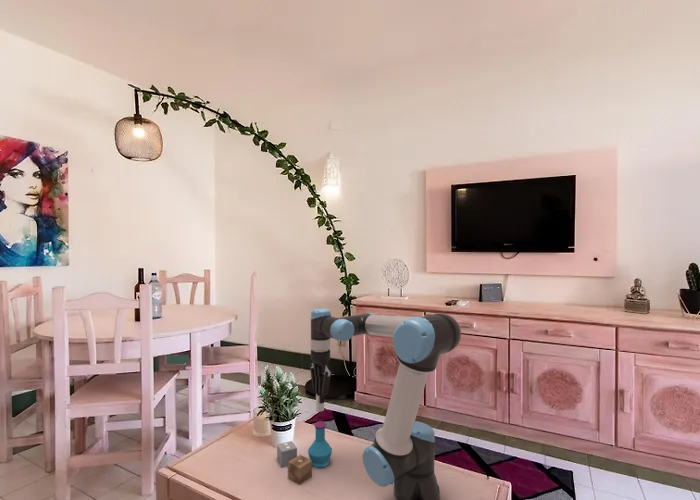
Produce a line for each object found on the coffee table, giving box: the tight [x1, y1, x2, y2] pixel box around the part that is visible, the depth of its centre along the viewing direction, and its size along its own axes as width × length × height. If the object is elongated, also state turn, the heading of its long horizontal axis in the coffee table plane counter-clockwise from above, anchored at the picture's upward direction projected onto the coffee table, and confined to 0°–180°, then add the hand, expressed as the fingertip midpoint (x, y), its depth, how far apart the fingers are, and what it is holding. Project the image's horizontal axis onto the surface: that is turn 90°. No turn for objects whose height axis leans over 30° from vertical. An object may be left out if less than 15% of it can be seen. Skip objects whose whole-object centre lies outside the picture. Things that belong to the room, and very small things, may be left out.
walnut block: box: [287, 454, 313, 486], centre depth 135 cm, size 6×6×6 cm
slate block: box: [276, 440, 298, 468], centre depth 145 cm, size 6×6×6 cm
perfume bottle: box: [307, 420, 333, 468], centre depth 144 cm, size 9×9×15 cm
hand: (320, 410), depth 145 cm, fingers closed
